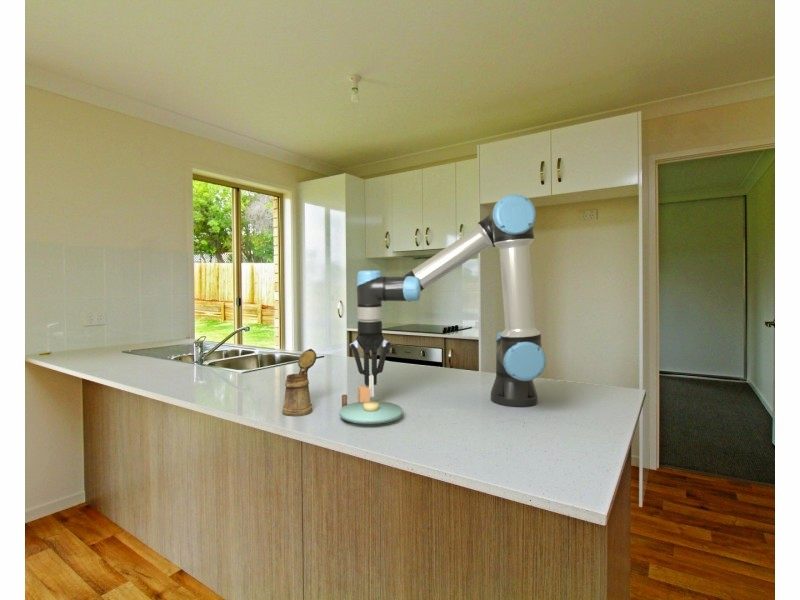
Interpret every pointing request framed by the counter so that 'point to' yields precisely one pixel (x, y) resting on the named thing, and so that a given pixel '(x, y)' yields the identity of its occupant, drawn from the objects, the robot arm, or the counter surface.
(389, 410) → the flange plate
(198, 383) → the counter surface
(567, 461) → the counter surface
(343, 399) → the dowel
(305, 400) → the wooden mug
